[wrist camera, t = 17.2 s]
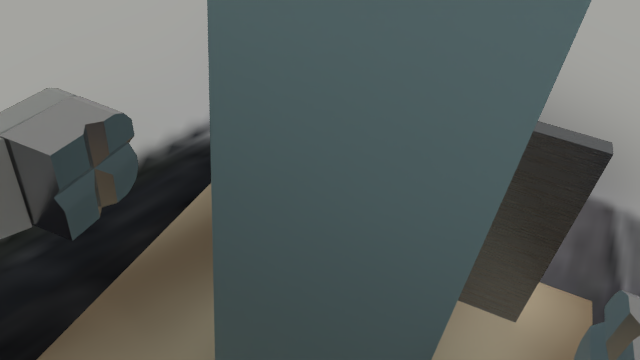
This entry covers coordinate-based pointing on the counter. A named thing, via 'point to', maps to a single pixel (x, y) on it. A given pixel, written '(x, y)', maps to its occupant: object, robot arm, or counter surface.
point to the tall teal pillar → (364, 163)
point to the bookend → (534, 218)
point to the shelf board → (198, 310)
